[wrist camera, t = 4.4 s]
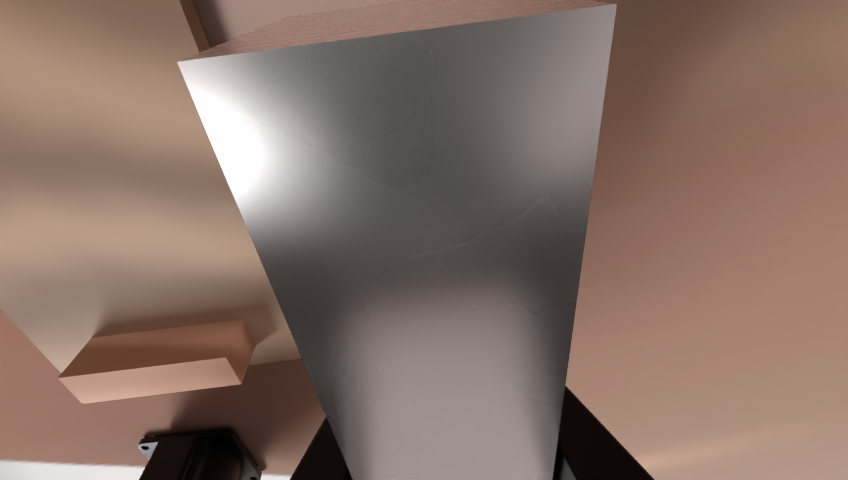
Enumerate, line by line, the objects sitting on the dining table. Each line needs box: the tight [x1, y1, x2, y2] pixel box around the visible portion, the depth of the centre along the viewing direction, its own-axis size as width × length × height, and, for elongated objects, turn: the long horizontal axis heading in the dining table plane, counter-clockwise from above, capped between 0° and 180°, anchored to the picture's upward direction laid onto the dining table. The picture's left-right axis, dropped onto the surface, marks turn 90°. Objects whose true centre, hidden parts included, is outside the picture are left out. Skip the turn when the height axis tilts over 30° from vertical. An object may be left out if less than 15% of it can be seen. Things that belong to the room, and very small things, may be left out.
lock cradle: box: [0, 0, 302, 404], centre depth 16 cm, size 24×14×4 cm, turn 6°
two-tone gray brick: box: [177, 0, 617, 480], centre depth 8 cm, size 14×4×4 cm, turn 6°
